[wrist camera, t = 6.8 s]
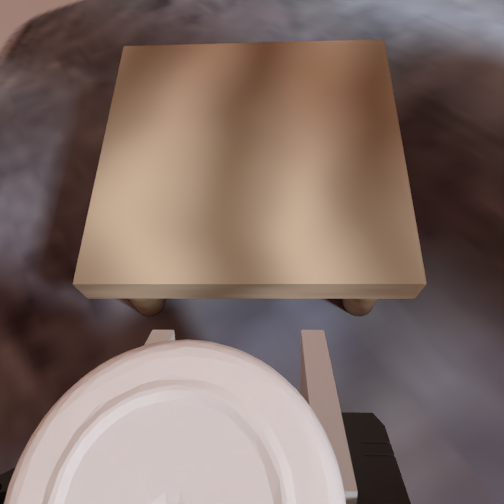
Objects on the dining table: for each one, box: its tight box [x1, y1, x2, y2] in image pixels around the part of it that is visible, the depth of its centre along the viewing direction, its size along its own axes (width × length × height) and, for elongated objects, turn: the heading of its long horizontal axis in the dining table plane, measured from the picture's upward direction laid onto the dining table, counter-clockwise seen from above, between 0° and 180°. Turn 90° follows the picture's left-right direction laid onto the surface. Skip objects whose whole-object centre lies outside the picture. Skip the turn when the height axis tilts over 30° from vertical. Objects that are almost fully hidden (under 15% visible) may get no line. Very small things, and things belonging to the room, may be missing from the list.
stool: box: [73, 39, 427, 316], centre depth 23 cm, size 14×14×6 cm
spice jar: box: [4, 339, 346, 504], centre depth 11 cm, size 5×5×14 cm
